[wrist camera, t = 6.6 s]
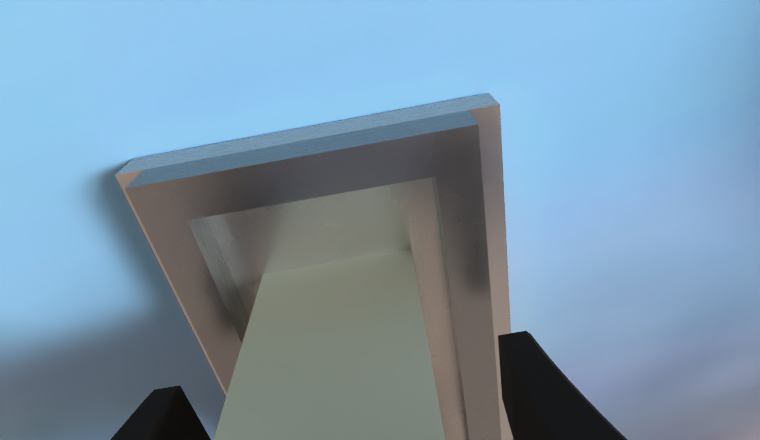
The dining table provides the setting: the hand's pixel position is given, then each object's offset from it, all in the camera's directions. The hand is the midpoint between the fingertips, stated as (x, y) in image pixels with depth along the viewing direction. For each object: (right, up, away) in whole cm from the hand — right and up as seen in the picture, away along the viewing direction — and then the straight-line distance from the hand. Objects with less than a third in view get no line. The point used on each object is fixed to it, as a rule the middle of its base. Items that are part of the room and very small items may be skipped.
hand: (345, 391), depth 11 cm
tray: (+1, -2, +6) cm, 6 cm away
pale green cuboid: (0, +2, +3) cm, 3 cm away
